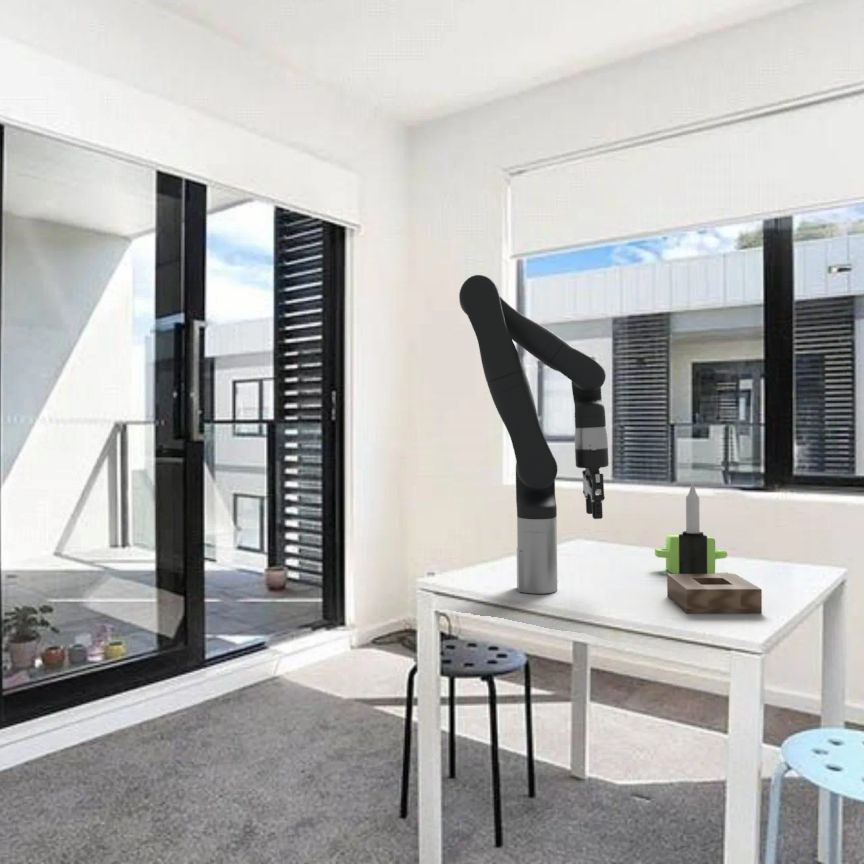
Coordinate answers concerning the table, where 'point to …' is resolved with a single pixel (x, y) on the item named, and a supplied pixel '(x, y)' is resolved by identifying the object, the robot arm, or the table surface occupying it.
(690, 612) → the holder
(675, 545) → the green square pitcher
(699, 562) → the candle
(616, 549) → the table surface
